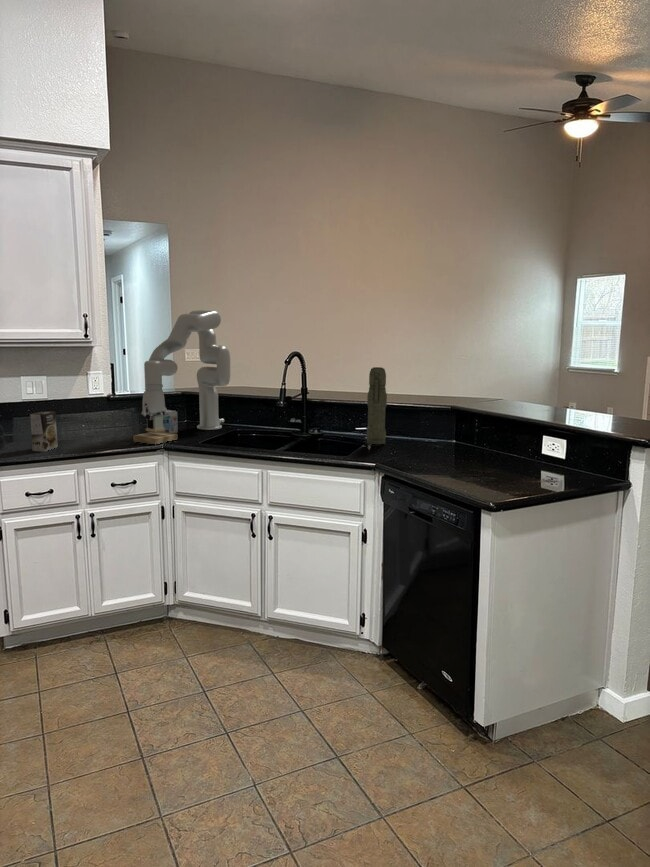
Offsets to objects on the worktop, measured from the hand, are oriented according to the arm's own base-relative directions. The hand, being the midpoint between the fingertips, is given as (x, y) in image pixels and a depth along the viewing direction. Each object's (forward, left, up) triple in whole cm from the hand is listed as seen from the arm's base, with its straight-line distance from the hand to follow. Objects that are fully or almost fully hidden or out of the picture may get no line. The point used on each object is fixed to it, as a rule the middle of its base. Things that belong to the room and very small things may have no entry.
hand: (155, 426), depth 296 cm
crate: (0, 0, -2) cm, 2 cm away
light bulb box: (-17, -11, -7) cm, 22 cm away
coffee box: (+39, -26, -7) cm, 47 cm away
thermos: (-54, +87, -7) cm, 102 cm away
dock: (0, 0, -7) cm, 7 cm away
